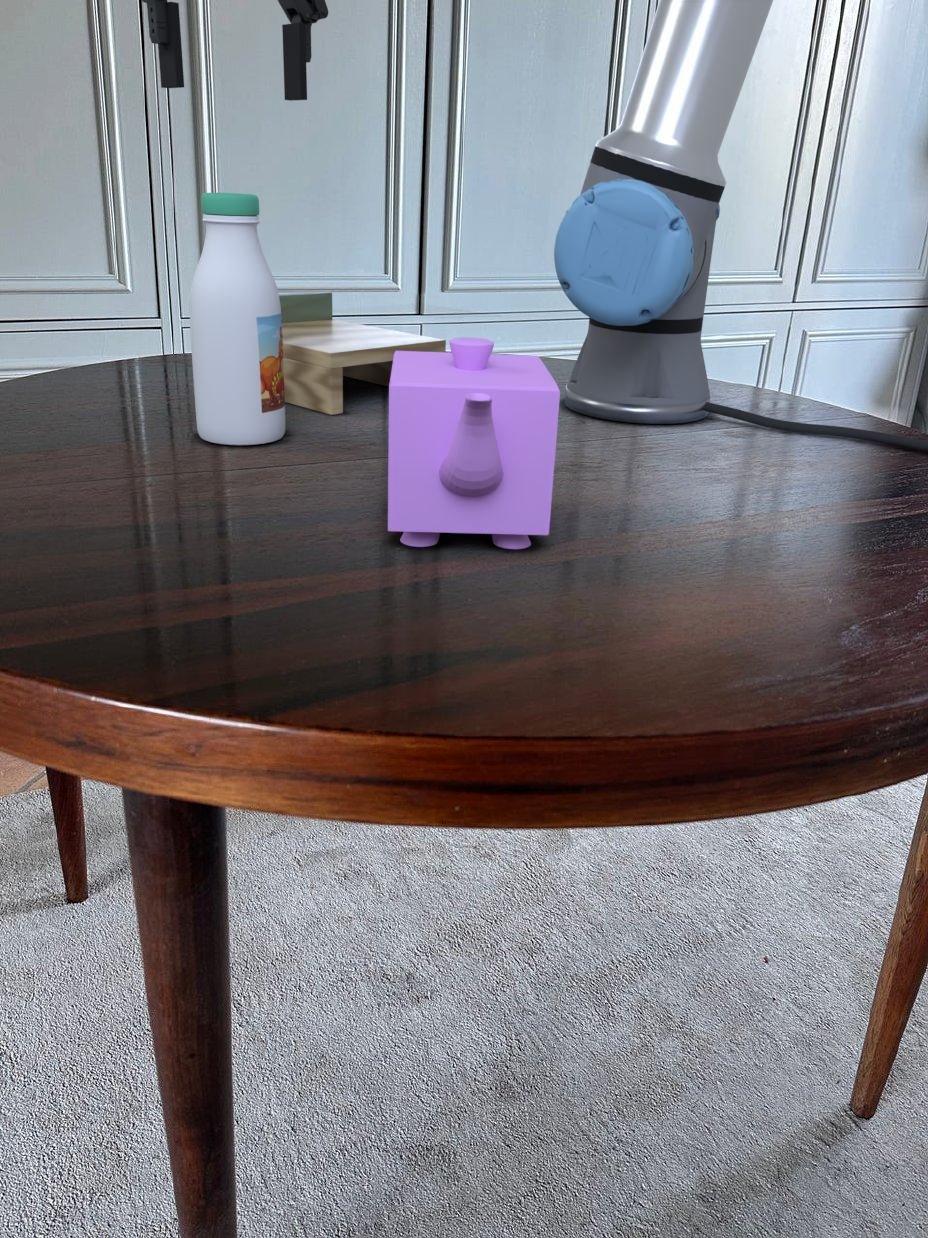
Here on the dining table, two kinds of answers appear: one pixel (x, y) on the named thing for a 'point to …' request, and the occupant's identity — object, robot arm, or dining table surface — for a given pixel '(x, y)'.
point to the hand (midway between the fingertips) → (237, 94)
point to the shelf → (335, 351)
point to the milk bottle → (236, 329)
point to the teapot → (471, 444)
